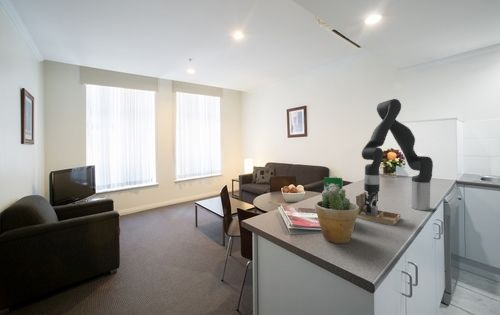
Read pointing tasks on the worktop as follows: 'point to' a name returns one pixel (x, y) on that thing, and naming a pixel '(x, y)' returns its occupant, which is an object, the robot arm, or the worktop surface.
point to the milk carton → (332, 182)
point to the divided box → (382, 215)
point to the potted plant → (336, 215)
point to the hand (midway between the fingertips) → (371, 210)
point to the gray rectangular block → (373, 211)
